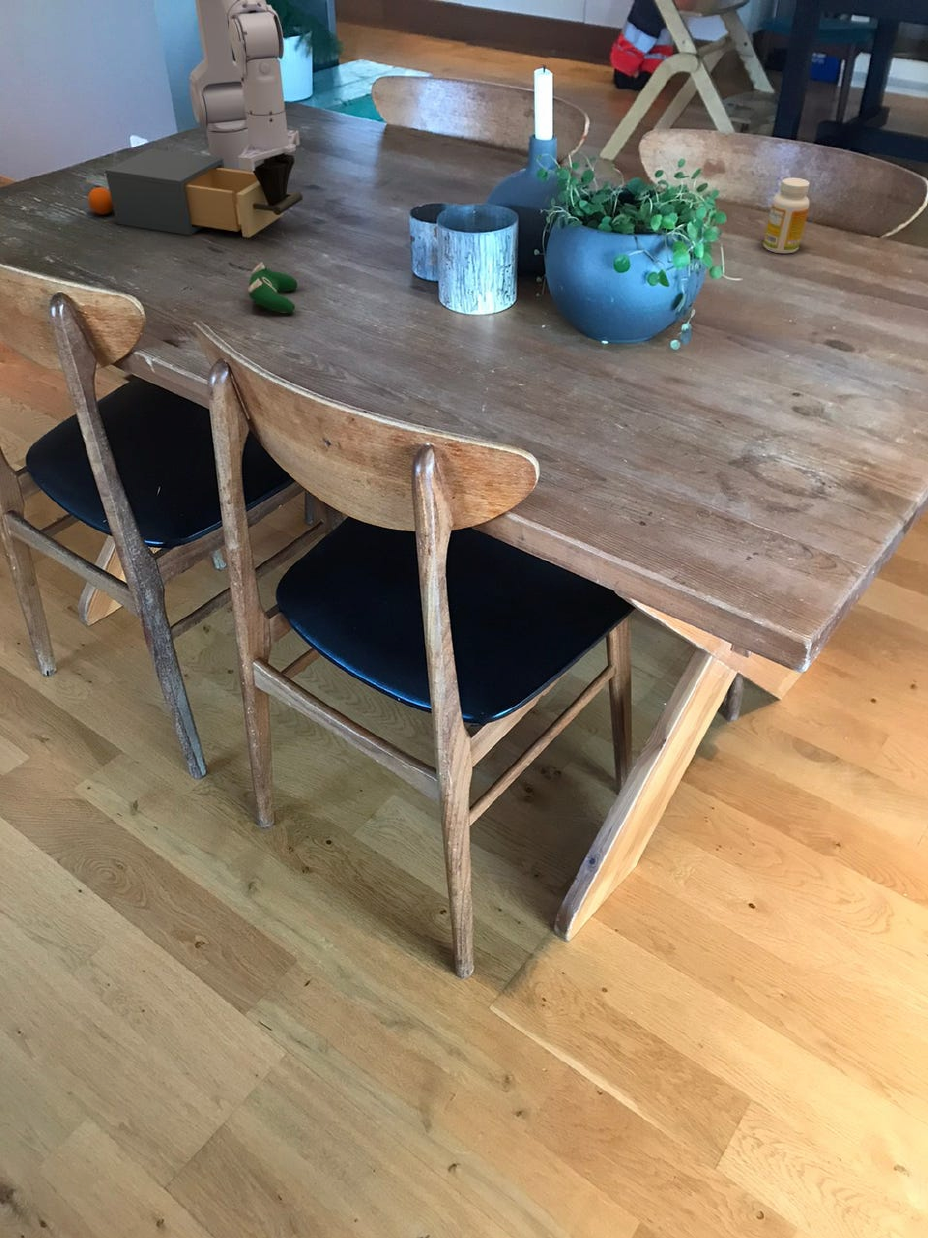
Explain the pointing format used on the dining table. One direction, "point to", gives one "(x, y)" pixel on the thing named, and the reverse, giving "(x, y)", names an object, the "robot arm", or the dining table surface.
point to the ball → (100, 200)
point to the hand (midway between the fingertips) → (277, 207)
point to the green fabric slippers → (271, 289)
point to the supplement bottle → (787, 216)
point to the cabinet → (157, 189)
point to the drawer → (233, 201)
